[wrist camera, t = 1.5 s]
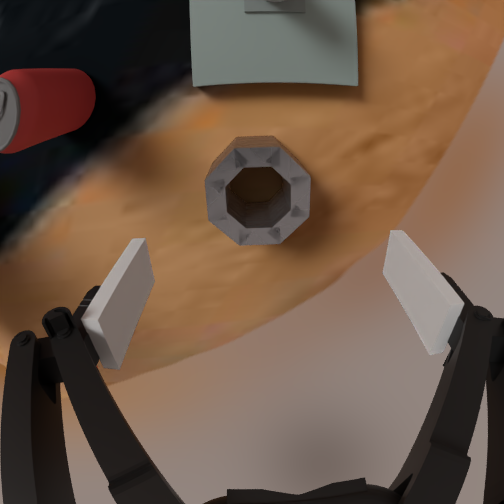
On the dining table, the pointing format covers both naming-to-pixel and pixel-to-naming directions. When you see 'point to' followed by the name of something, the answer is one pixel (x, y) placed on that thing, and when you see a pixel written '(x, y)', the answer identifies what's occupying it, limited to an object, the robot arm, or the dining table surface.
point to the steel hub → (257, 213)
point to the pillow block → (273, 42)
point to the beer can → (42, 105)
